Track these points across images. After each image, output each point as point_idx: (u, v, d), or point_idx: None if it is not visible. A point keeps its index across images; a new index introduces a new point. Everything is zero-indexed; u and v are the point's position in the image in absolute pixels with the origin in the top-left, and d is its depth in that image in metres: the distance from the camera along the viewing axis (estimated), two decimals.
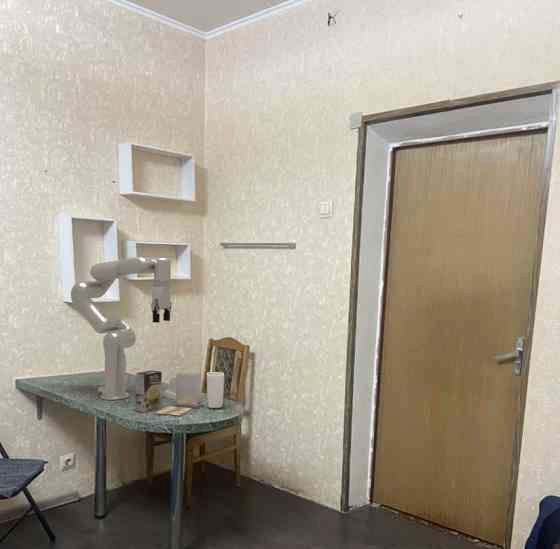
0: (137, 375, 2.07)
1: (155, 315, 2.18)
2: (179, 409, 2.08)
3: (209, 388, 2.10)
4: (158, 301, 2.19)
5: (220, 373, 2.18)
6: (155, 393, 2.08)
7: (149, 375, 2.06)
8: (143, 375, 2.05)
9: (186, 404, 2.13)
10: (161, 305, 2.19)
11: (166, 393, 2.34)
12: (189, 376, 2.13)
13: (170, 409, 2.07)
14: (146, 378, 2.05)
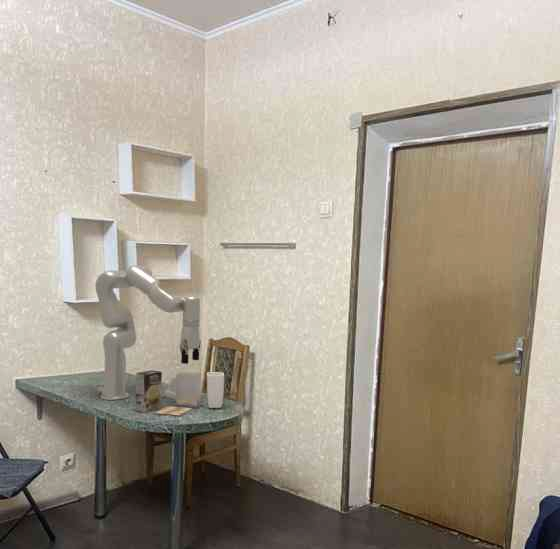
0: (137, 375, 2.07)
1: (184, 356, 2.13)
2: (179, 409, 2.08)
3: (209, 388, 2.10)
4: (187, 342, 2.13)
5: (220, 373, 2.18)
6: (155, 393, 2.08)
7: (149, 375, 2.06)
8: (143, 375, 2.05)
9: (186, 404, 2.13)
10: (190, 346, 2.14)
11: (166, 393, 2.34)
12: (189, 376, 2.13)
13: (170, 409, 2.07)
14: (146, 378, 2.05)
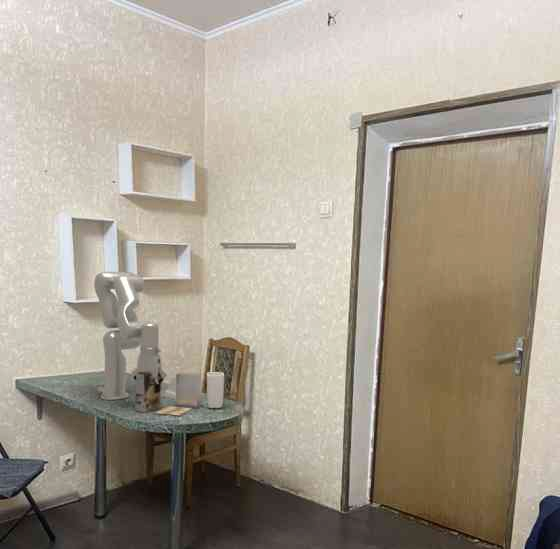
0: (137, 375, 2.07)
1: None
2: (179, 409, 2.08)
3: (209, 388, 2.10)
4: None
5: (220, 373, 2.18)
6: None
7: (149, 375, 2.06)
8: (143, 375, 2.05)
9: (186, 404, 2.13)
10: None
11: (166, 393, 2.34)
12: (189, 376, 2.13)
13: (170, 409, 2.07)
14: (146, 378, 2.05)
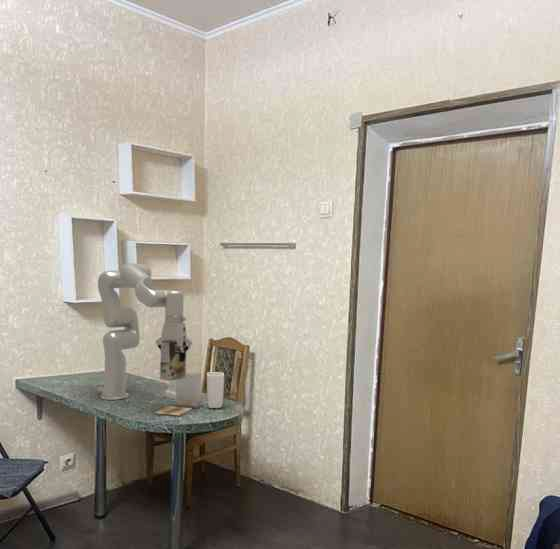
0: (162, 343, 2.04)
1: None
2: (179, 409, 2.08)
3: (209, 388, 2.10)
4: None
5: (220, 373, 2.18)
6: (180, 362, 2.05)
7: (174, 343, 2.02)
8: (168, 343, 2.02)
9: (186, 404, 2.13)
10: None
11: (167, 393, 2.34)
12: (189, 376, 2.13)
13: (170, 409, 2.07)
14: (171, 346, 2.01)
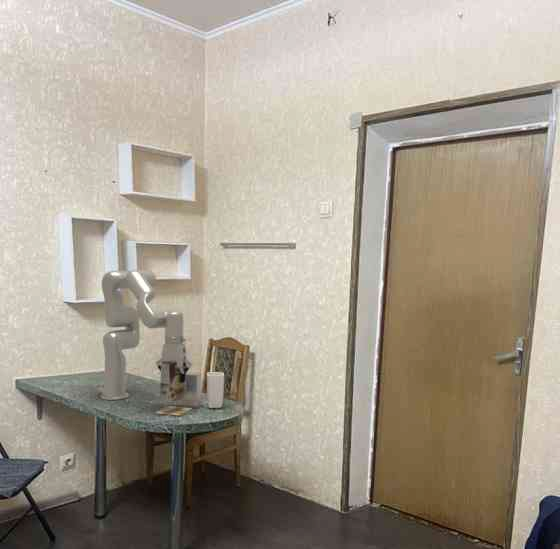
0: (162, 364, 2.04)
1: None
2: (179, 409, 2.08)
3: (209, 388, 2.10)
4: None
5: (220, 373, 2.18)
6: (180, 383, 2.05)
7: (174, 364, 2.02)
8: (168, 364, 2.02)
9: (186, 404, 2.13)
10: None
11: None
12: (189, 376, 2.13)
13: (170, 409, 2.07)
14: (171, 367, 2.01)
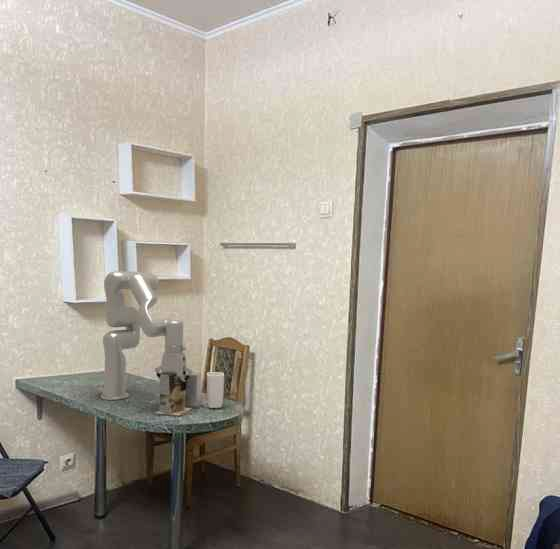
0: (162, 375, 2.04)
1: None
2: None
3: (209, 388, 2.10)
4: None
5: (220, 373, 2.18)
6: (179, 394, 2.05)
7: (174, 375, 2.02)
8: (168, 375, 2.02)
9: (186, 404, 2.13)
10: (162, 371, 2.05)
11: None
12: None
13: None
14: (171, 378, 2.01)
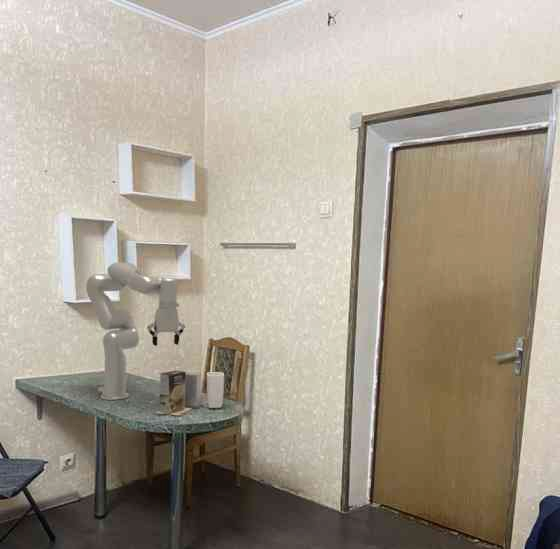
0: (161, 375, 2.04)
1: (153, 338, 2.10)
2: None
3: (209, 388, 2.10)
4: (156, 323, 2.10)
5: (220, 373, 2.18)
6: (179, 394, 2.05)
7: (174, 375, 2.02)
8: (168, 375, 2.02)
9: (186, 404, 2.13)
10: (159, 328, 2.10)
11: None
12: (189, 376, 2.13)
13: None
14: (171, 378, 2.01)
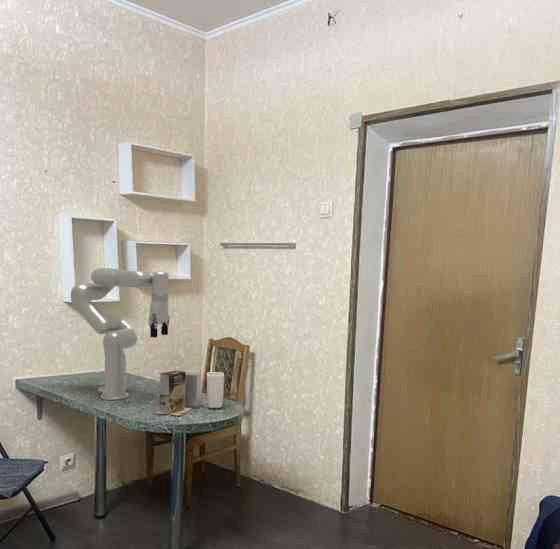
0: (161, 375, 2.04)
1: (153, 330, 2.16)
2: None
3: (209, 388, 2.10)
4: (156, 316, 2.17)
5: (220, 373, 2.18)
6: (179, 394, 2.05)
7: (174, 375, 2.02)
8: (168, 375, 2.02)
9: (186, 404, 2.13)
10: (159, 320, 2.17)
11: None
12: (189, 376, 2.13)
13: None
14: (171, 378, 2.01)
